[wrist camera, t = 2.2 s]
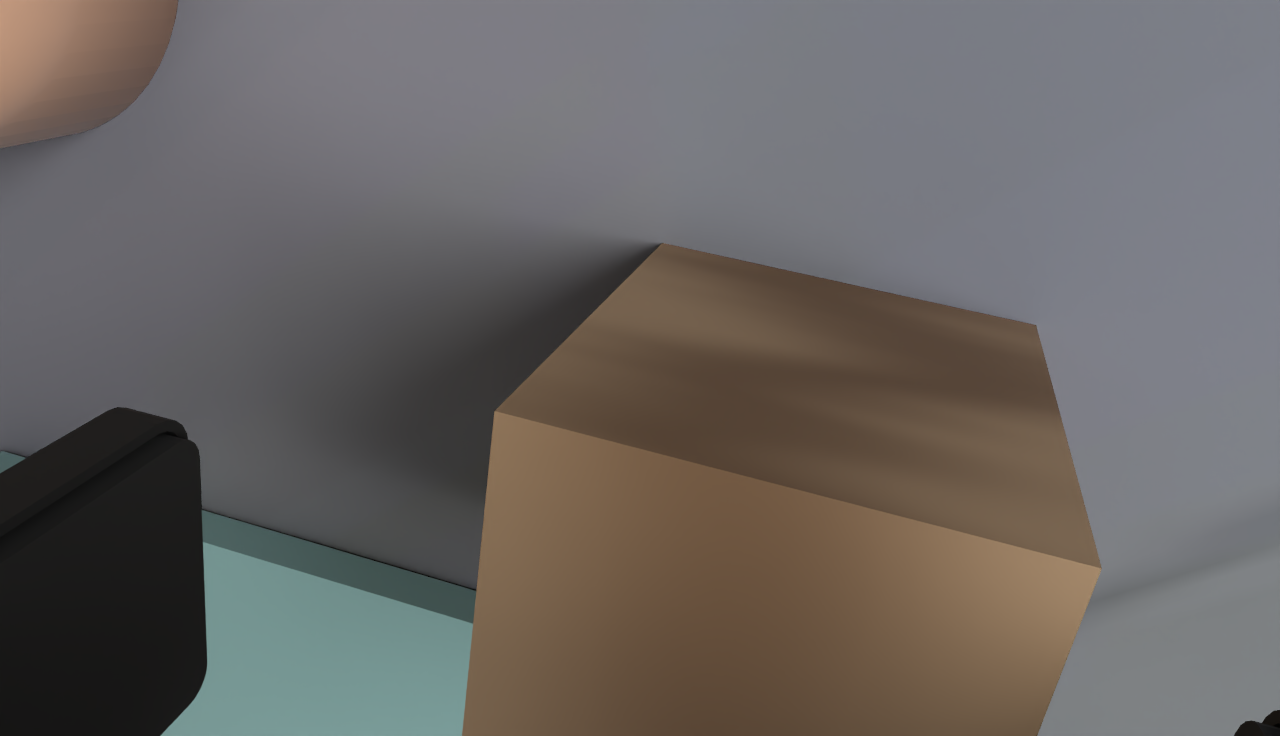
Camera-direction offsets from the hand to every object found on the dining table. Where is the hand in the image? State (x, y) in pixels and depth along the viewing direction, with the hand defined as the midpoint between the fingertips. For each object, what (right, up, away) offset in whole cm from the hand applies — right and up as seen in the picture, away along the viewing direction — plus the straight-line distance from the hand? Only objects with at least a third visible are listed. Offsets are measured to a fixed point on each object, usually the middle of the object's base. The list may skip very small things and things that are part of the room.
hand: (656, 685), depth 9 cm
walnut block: (+2, +2, +6) cm, 6 cm away
